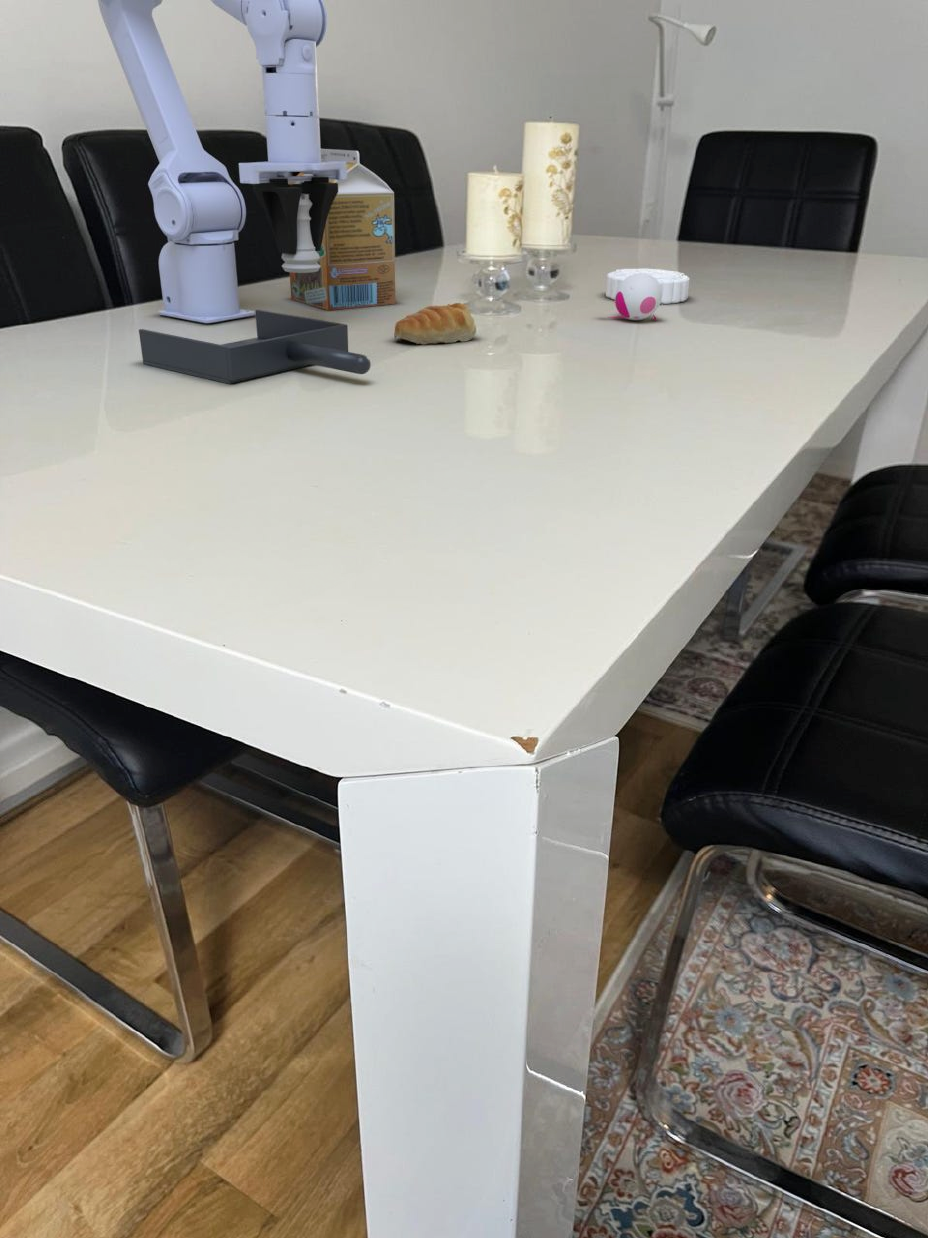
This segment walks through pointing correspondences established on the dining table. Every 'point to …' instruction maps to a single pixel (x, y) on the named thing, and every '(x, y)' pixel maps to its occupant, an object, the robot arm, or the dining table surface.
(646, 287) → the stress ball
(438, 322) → the pastry
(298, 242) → the rook chess piece
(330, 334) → the scoop
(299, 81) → the robot arm
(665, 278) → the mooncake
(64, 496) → the dining table surface
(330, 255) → the milk carton
